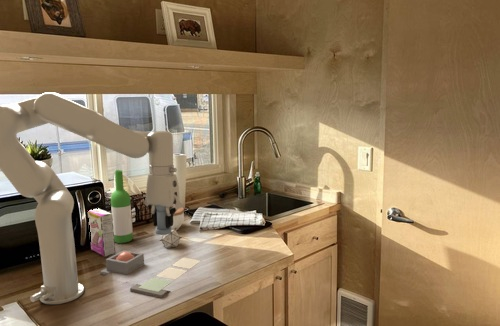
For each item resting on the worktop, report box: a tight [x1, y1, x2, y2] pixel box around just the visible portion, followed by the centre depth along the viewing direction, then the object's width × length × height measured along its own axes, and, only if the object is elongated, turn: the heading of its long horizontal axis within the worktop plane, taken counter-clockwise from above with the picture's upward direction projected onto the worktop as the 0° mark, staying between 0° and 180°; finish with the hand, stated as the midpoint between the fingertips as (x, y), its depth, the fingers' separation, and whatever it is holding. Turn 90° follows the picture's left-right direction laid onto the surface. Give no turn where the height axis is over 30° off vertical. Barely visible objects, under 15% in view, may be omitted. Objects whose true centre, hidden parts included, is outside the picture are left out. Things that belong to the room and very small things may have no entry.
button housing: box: [99, 249, 145, 276], centre depth 145 cm, size 12×12×5 cm
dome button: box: [116, 252, 134, 262], centre depth 145 cm, size 6×6×6 cm
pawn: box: [155, 204, 171, 236], centre depth 134 cm, size 5×5×11 cm
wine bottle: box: [110, 169, 134, 244], centre depth 172 cm, size 8×8×30 cm
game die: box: [159, 228, 183, 249], centre depth 164 cm, size 9×8×10 cm
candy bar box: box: [87, 207, 116, 257], centre depth 161 cm, size 11×5×16 cm, turn 47°
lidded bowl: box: [171, 205, 185, 231], centre depth 188 cm, size 13×13×11 cm
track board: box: [129, 257, 201, 299], centre depth 140 cm, size 28×12×1 cm, turn 156°
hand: (163, 225), depth 134 cm, fingers closed on pawn, 4 cm apart
